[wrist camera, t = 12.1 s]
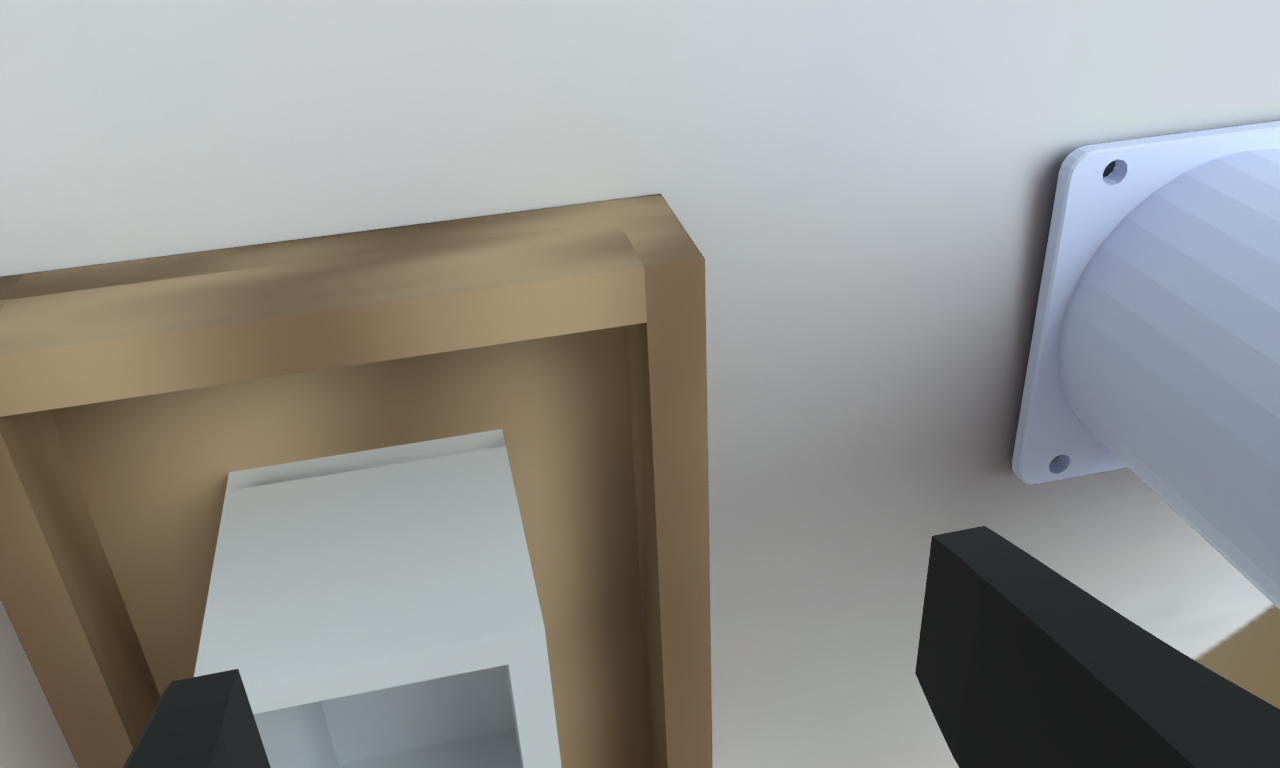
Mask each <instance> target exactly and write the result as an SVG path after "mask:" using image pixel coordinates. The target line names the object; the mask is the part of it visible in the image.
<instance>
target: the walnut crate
mask: <svg viewBox="0 0 1280 768" xmlns="http://www.w3.org/2000/svg"><path fill="white" fill-rule="evenodd" d="M499 429H502V431H503V435H504V440H505V445H506V449H507V454H508V459H509V463H510V468H511V473H512V478H513V482H514V487H515V492H516V496H517V501H518V506H519V510H520V515H521V520H522V524H523V529H524V534H525V538H526V543H527V548H528V552H529V557H530V562H531V566H532V571H533V576H534V580H535V585H536V590H537V594H538V599H539V604H540V608H541V613H542V618H543V622H544V627H545V635H546V643H547V652H548V660H549V668H550V676H551V684H552V693H553V701H554V709H555V717H556V725H557V734H558V742H559V750H560V758H561V766H562V768H712V713H711V646H710V580H709V513H708V447H707V381H706V314H705V259H704V257H703V256H702V254H701V253H700V251H699V250H698V248H697V247H696V245H695V244H694V242H693V241H692V239H691V238H690V236H689V235H688V234H687V232H686V231H685V229H684V228H683V226H682V225H681V223H680V222H679V220H678V219H677V217H676V216H675V214H674V213H673V211H672V210H671V208H670V207H669V205H668V204H667V202H666V201H665V199H664V198H663V196H662V195H661V194H656V195H648V196H640V197H632V198H624V199H616V200H608V201H600V202H592V203H584V204H576V205H568V206H560V207H552V208H544V209H536V210H528V211H521V212H513V213H505V214H497V215H489V216H481V217H473V218H465V219H457V220H449V221H441V222H433V223H425V224H417V225H409V226H401V227H393V228H385V229H378V230H370V231H362V232H354V233H346V234H338V235H330V236H322V237H314V238H306V239H298V240H290V241H282V242H274V243H266V244H258V245H250V246H242V247H234V248H227V249H219V250H211V251H203V252H195V253H187V254H179V255H171V256H163V257H155V258H147V259H139V260H131V261H123V262H115V263H107V264H99V265H91V266H84V267H76V268H68V269H60V270H52V271H44V272H36V273H28V274H20V275H12V276H4V277H0V598H1V601H2V603H3V605H4V607H5V609H6V611H7V614H8V616H9V618H10V620H11V622H12V624H13V627H14V629H15V631H16V633H17V635H18V637H19V639H20V642H21V644H22V646H23V648H24V650H25V652H26V655H27V657H28V659H29V661H30V663H31V665H32V668H33V670H34V672H35V674H36V676H37V678H38V680H39V683H40V685H41V687H42V689H43V691H44V693H45V696H46V698H47V700H48V702H49V704H50V706H51V709H52V711H53V713H54V715H55V717H56V719H57V721H58V724H59V726H60V728H61V730H62V732H63V734H64V737H65V739H66V741H67V743H68V745H69V747H70V750H71V752H72V754H73V756H74V758H75V760H76V762H77V765H78V767H79V768H123V766H124V764H125V762H126V761H127V759H128V757H129V755H130V753H131V752H132V750H133V748H134V746H135V744H136V742H137V741H138V739H139V737H140V735H141V733H142V731H143V729H144V727H145V726H146V724H147V722H148V720H149V718H150V716H151V714H152V713H153V711H154V709H155V707H156V705H157V703H158V701H159V699H160V697H161V695H162V694H163V692H164V691H165V690H166V688H167V687H168V686H169V685H170V684H171V682H172V681H177V680H182V679H187V678H192V677H194V673H195V667H196V661H197V656H198V650H199V644H200V638H201V632H202V627H203V621H204V615H205V609H206V603H207V597H208V592H209V586H210V580H211V574H212V568H213V563H214V557H215V551H216V545H217V539H218V534H219V528H220V522H221V516H222V510H223V505H224V499H225V493H226V487H227V481H228V476H229V472H235V471H241V470H247V469H253V468H260V467H266V466H272V465H279V464H285V463H291V462H297V461H304V460H310V459H316V458H323V457H329V456H335V455H341V454H348V453H354V452H360V451H367V450H373V449H379V448H385V447H392V446H398V445H404V444H411V443H417V442H423V441H429V440H436V439H442V438H448V437H455V436H461V435H467V434H473V433H480V432H486V431H492V430H499Z"/></svg>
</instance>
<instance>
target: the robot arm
mask: <svg viewBox="0 0 1280 768" xmlns="http://www.w3.org/2000/svg"><path fill="white" fill-rule="evenodd" d="M1112 161H1115V167H1114V169H1113V171H1112V172H1111V173H1110V174H1109V175H1108V176H1107V177H1104V178H1103V172H1104V170H1105V167H1106V166H1107V165H1108V164H1109V163H1110V162H1112ZM1059 455H1060V456H1059ZM1057 456H1059V458H1058V459H1057V460H1056V461H1055V462H1053V463H1051V461H1052V460H1053V459H1054V458H1055V457H1057ZM1122 468H1129V469H1130V470H1131V471H1133V472H1134V473H1135V474H1136V475H1137V476H1138V477H1139V478H1140V479H1141V480H1142V481H1143V482H1144V483H1145V484H1146V485H1147V486H1149V487H1150V488H1151V489H1152V490H1153V491H1154V492H1155V493H1156V494H1157V495H1158V496H1159V497H1160V498H1161V499H1162V500H1163V501H1164V502H1166V503H1167V504H1168V505H1169V506H1170V507H1171V508H1172V509H1173V510H1174V511H1175V512H1176V513H1177V514H1178V515H1179V516H1180V517H1182V518H1183V519H1184V520H1185V521H1186V522H1187V523H1188V524H1189V525H1190V526H1191V527H1192V528H1193V529H1194V530H1195V531H1196V532H1197V533H1199V534H1200V535H1201V536H1202V537H1203V538H1204V539H1205V540H1206V541H1207V542H1208V543H1209V544H1210V545H1211V546H1212V547H1213V548H1215V549H1216V550H1217V551H1218V552H1219V553H1220V554H1221V555H1222V556H1223V557H1224V558H1225V559H1226V560H1227V561H1228V562H1229V563H1230V564H1232V565H1233V566H1234V567H1235V568H1236V569H1237V570H1238V571H1239V572H1240V573H1241V574H1242V575H1243V576H1244V577H1245V578H1246V579H1248V580H1249V581H1250V582H1251V583H1252V584H1253V585H1254V586H1255V587H1256V588H1257V589H1258V590H1259V591H1260V592H1261V593H1262V594H1263V595H1265V596H1266V597H1267V598H1268V599H1269V600H1270V601H1271V602H1272V603H1273V604H1274V605H1275V606H1276V607H1277V608H1279V610H1280V121H1273V122H1265V123H1257V124H1249V125H1241V126H1234V127H1226V128H1218V129H1210V130H1202V131H1194V132H1186V133H1178V134H1170V135H1163V136H1155V137H1147V138H1139V139H1131V140H1123V141H1115V142H1107V143H1099V144H1091V145H1085V146H1082V147H1079V148H1077V149H1075V150H1074V151H1073V152H1071V153H1070V154H1069V155H1068V156H1067V157H1066V159H1065V160H1064V161H1063V163H1062V165H1061V168H1060V171H1059V175H1058V181H1057V188H1056V194H1055V200H1054V206H1053V212H1052V218H1051V225H1050V231H1049V237H1048V243H1047V249H1046V255H1045V262H1044V268H1043V274H1042V280H1041V286H1040V292H1039V299H1038V305H1037V311H1036V317H1035V323H1034V329H1033V336H1032V342H1031V348H1030V354H1029V360H1028V366H1027V373H1026V379H1025V385H1024V391H1023V397H1022V403H1021V410H1020V416H1019V422H1018V428H1017V434H1016V441H1015V447H1014V453H1013V459H1012V470H1013V471H1014V473H1015V474H1016V475H1017V476H1018V478H1019V479H1020V480H1021V481H1022V482H1024V483H1026V484H1040V483H1045V482H1051V481H1056V480H1062V479H1067V478H1073V477H1078V476H1084V475H1089V474H1095V473H1100V472H1106V471H1111V470H1117V469H1122ZM916 676H917V678H918V680H919V682H920V685H921V687H922V689H923V692H924V694H925V696H926V698H927V701H928V703H929V705H930V708H931V710H932V712H933V714H934V717H935V719H936V721H937V723H938V725H939V728H940V730H941V732H942V734H943V736H944V738H945V740H946V742H947V744H948V747H949V749H950V751H951V753H952V755H953V757H954V759H955V761H956V762H957V764H958V766H959V768H1280V709H1278V708H1276V707H1274V706H1272V705H1271V704H1269V703H1267V702H1265V701H1264V700H1262V699H1260V698H1258V697H1257V696H1255V695H1253V694H1251V693H1250V692H1248V691H1246V690H1244V689H1242V688H1241V687H1239V686H1237V685H1235V684H1234V683H1232V682H1230V681H1228V680H1227V679H1225V678H1223V677H1221V676H1220V675H1218V674H1216V673H1214V672H1213V671H1211V670H1209V669H1208V668H1206V667H1204V666H1203V665H1201V664H1199V663H1197V662H1196V661H1194V660H1193V659H1191V658H1189V657H1188V656H1186V655H1184V654H1183V653H1181V652H1179V651H1178V650H1176V649H1174V648H1173V647H1171V646H1170V645H1168V644H1166V643H1165V642H1163V641H1162V640H1160V639H1158V638H1157V637H1155V636H1154V635H1152V634H1150V633H1149V632H1147V631H1146V630H1144V629H1142V628H1141V627H1139V626H1138V625H1136V624H1135V623H1133V622H1131V621H1130V620H1128V619H1127V618H1125V617H1124V616H1122V615H1120V614H1119V613H1117V612H1116V611H1114V610H1113V609H1111V608H1110V607H1108V606H1107V605H1105V604H1103V603H1102V602H1100V601H1099V600H1097V599H1096V598H1094V597H1093V596H1091V595H1090V594H1088V593H1087V592H1085V591H1084V590H1082V589H1081V588H1079V587H1078V586H1076V585H1075V584H1073V583H1072V582H1070V581H1068V580H1067V579H1065V578H1064V577H1062V576H1061V575H1059V574H1058V573H1056V572H1055V571H1053V570H1052V569H1050V568H1049V567H1047V566H1046V565H1044V564H1043V563H1041V562H1040V561H1038V560H1037V559H1035V558H1034V557H1032V556H1031V555H1029V554H1028V553H1026V552H1025V551H1023V550H1022V549H1020V548H1018V547H1017V546H1015V545H1014V544H1012V543H1011V542H1009V541H1008V540H1006V539H1005V538H1003V537H1001V536H1000V535H998V534H997V533H995V532H993V531H992V530H990V529H988V528H987V527H985V526H982V527H977V528H971V529H966V530H961V531H956V532H951V533H945V534H940V535H935V536H932V541H931V549H930V557H929V565H928V574H927V582H926V590H925V598H924V607H923V615H922V623H921V631H920V640H919V648H918V656H917V664H916ZM123 768H271V767H270V764H269V761H268V758H267V755H266V752H265V749H264V746H263V743H262V740H261V736H260V733H259V730H258V727H257V724H256V721H255V718H254V715H253V712H252V709H251V706H250V703H249V700H248V697H247V694H246V691H245V688H244V685H243V682H242V679H241V676H240V672H239V669H234V670H229V671H224V672H218V673H213V674H208V675H203V676H197V677H192V678H187V679H182V680H177V681H172V682H171V684H170V685H169V686H168V687H167V688H166V690H165V691H164V692H163V694H162V695H161V697H160V699H159V701H158V703H157V705H156V707H155V709H154V711H153V713H152V714H151V716H150V718H149V720H148V722H147V724H146V726H145V727H144V729H143V731H142V733H141V735H140V737H139V739H138V741H137V742H136V744H135V746H134V748H133V750H132V752H131V753H130V755H129V757H128V759H127V761H126V762H125V764H124V766H123Z"/></svg>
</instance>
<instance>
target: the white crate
mask: <svg viewBox="0 0 1280 768" xmlns="http://www.w3.org/2000/svg"><path fill="white" fill-rule="evenodd" d="M234 669H239V672H240V676H241V679H242V682H243V685H244V688H245V691H246V694H247V697H248V700H249V703H250V706H251V709H252V712H253V715H254V718H255V721H256V724H257V727H258V730H259V733H260V736H261V740H262V743H263V746H264V749H265V752H266V755H267V758H268V761H269V764H270V767H271V768H562V766H561V758H560V750H559V742H558V734H557V725H556V717H555V709H554V701H553V693H552V684H551V676H550V668H549V660H548V652H547V643H546V635H545V627H544V622H543V618H542V613H541V608H540V604H539V599H538V594H537V590H536V585H535V580H534V576H533V571H532V566H531V562H530V557H529V552H528V548H527V543H526V538H525V534H524V529H523V524H522V520H521V515H520V510H519V506H518V501H517V496H516V492H515V487H514V482H513V478H512V473H511V468H510V463H509V459H508V454H507V449H506V445H505V440H504V435H503V431H502V429H499V430H492V431H486V432H480V433H473V434H467V435H461V436H455V437H448V438H442V439H436V440H429V441H423V442H417V443H411V444H404V445H398V446H392V447H385V448H379V449H373V450H367V451H360V452H354V453H348V454H341V455H335V456H329V457H323V458H316V459H310V460H304V461H297V462H291V463H285V464H279V465H272V466H266V467H260V468H253V469H247V470H241V471H235V472H229V476H228V481H227V487H226V493H225V499H224V505H223V510H222V516H221V522H220V528H219V534H218V539H217V545H216V551H215V557H214V563H213V568H212V574H211V580H210V586H209V592H208V597H207V603H206V609H205V615H204V621H203V627H202V632H201V638H200V644H199V650H198V656H197V661H196V667H195V673H194V677H197V676H203V675H208V674H213V673H218V672H224V671H229V670H234Z"/></svg>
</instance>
